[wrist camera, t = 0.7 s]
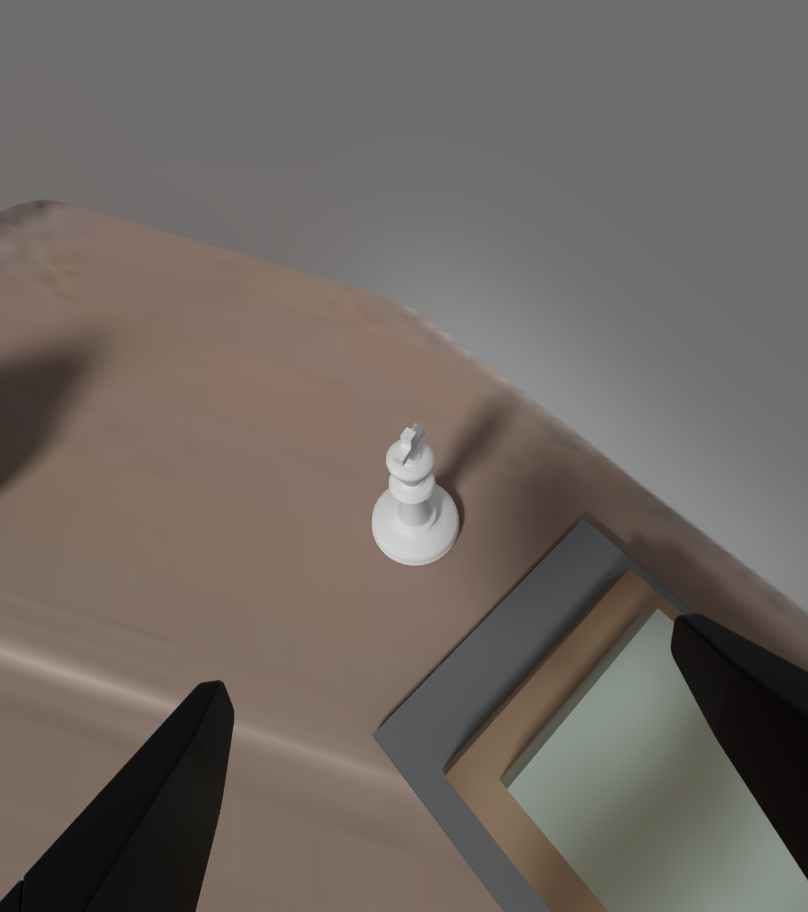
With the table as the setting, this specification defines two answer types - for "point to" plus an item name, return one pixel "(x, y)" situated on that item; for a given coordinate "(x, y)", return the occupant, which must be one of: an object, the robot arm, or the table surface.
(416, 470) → the chess piece
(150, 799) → the robot arm
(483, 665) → the baseplate
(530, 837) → the stacked blocks
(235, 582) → the table surface
